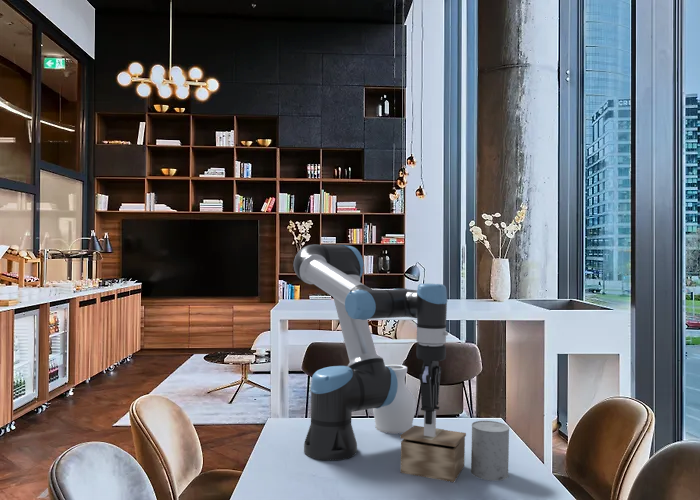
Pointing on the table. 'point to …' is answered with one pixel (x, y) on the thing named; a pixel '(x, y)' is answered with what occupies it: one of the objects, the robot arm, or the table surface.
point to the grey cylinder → (490, 450)
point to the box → (432, 459)
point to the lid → (441, 437)
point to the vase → (397, 407)
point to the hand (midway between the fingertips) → (429, 435)
